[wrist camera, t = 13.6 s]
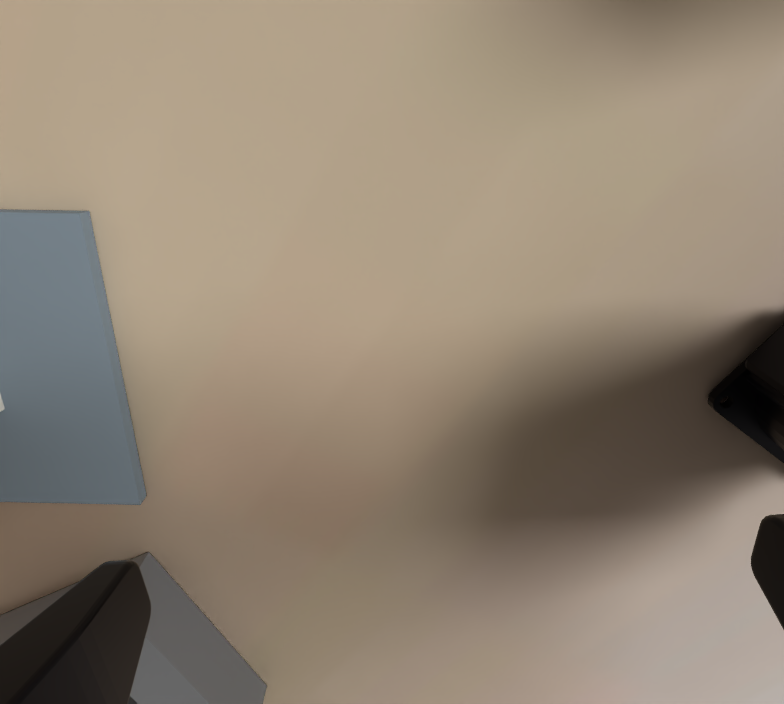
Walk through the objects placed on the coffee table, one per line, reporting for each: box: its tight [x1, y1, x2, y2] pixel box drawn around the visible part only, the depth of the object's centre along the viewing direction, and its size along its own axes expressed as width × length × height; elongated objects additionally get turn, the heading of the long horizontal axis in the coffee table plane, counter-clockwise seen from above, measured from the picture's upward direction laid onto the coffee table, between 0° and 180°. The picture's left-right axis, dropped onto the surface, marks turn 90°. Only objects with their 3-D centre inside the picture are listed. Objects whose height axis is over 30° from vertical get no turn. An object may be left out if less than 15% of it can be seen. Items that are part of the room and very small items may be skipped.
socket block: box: [0, 552, 267, 704], centre depth 26 cm, size 10×10×3 cm
